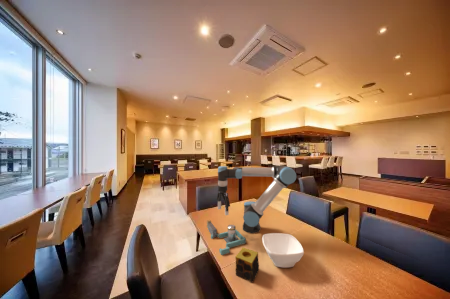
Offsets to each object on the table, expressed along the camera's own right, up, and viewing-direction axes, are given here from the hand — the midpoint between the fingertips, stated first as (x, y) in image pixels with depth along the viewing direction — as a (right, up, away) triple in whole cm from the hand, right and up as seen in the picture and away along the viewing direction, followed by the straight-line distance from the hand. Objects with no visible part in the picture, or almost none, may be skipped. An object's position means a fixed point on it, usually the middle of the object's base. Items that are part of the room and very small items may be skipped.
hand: (222, 211), depth 124 cm
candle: (+14, -18, -38) cm, 45 cm away
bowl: (+36, -18, -31) cm, 51 cm away
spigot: (+7, -19, -7) cm, 21 cm away
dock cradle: (+5, -19, -9) cm, 21 cm away
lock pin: (-10, -19, +5) cm, 22 cm away
